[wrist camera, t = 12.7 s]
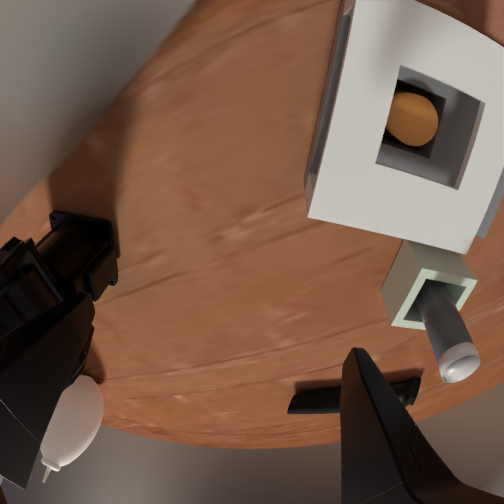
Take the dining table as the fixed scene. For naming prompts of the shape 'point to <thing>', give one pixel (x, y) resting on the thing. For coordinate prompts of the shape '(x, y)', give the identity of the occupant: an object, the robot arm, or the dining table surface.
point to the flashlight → (446, 332)
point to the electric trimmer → (331, 398)
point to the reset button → (412, 118)
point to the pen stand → (423, 280)
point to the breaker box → (399, 156)
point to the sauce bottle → (72, 424)
